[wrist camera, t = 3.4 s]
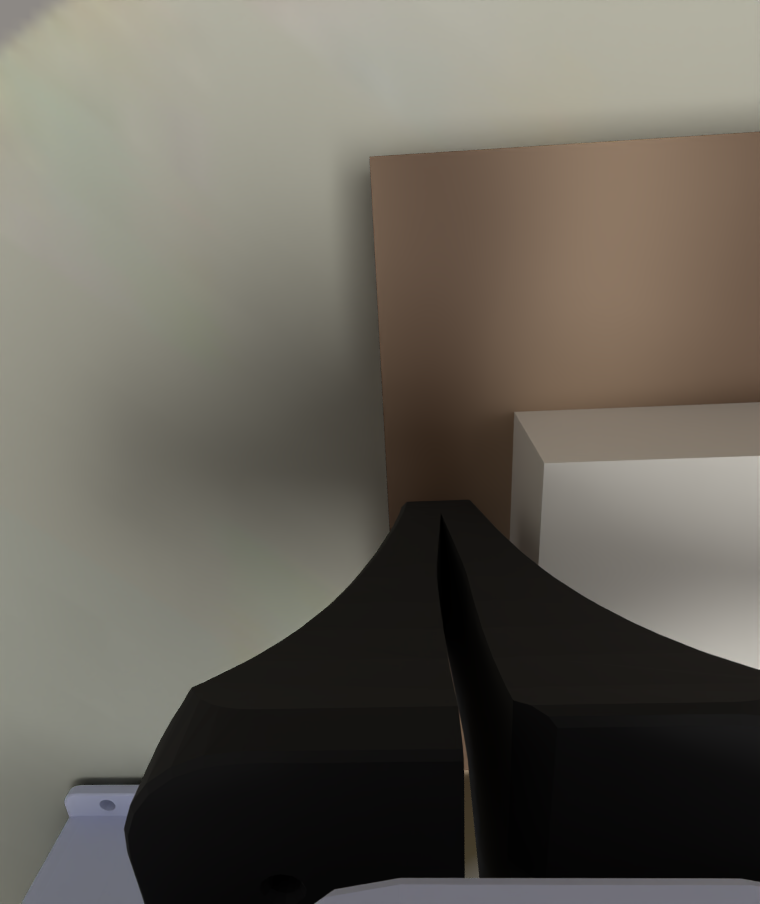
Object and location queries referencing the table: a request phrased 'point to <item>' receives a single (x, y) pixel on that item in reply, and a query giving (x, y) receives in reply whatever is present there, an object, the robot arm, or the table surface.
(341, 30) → the table surface
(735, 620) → the block
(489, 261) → the walnut plate
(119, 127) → the table surface
